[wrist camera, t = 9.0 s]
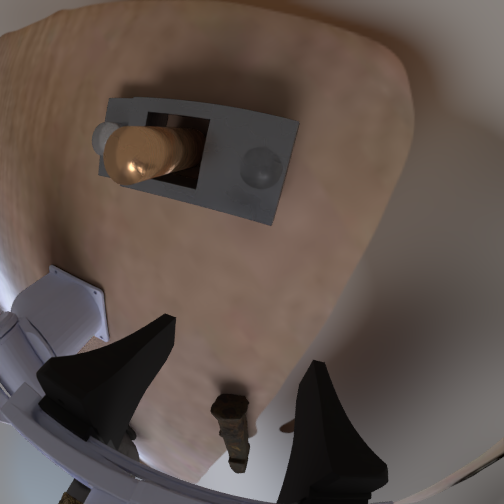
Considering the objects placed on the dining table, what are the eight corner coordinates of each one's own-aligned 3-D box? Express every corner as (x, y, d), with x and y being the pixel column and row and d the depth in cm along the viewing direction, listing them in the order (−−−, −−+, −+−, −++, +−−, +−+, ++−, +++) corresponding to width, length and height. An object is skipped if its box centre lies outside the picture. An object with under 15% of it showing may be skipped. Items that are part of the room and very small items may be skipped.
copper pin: (168, 163, 20) (101, 180, 12) (175, 126, 18) (106, 124, 11) (204, 170, 19) (146, 190, 12) (211, 131, 18) (154, 128, 11)
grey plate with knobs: (109, 172, 21) (86, 178, 18) (120, 99, 18) (97, 96, 15) (276, 213, 20) (271, 225, 17) (300, 125, 17) (299, 121, 14)
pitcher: (128, 413, 37) (56, 536, 10) (159, 457, 44) (113, 553, 17) (86, 396, 39) (14, 498, 12) (121, 442, 47) (72, 528, 19)
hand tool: (217, 388, 29) (205, 418, 25) (250, 394, 28) (241, 426, 24) (229, 451, 36) (222, 473, 32) (252, 455, 35) (246, 477, 31)
